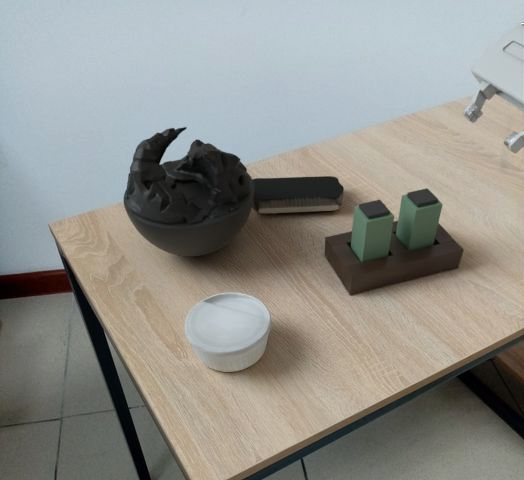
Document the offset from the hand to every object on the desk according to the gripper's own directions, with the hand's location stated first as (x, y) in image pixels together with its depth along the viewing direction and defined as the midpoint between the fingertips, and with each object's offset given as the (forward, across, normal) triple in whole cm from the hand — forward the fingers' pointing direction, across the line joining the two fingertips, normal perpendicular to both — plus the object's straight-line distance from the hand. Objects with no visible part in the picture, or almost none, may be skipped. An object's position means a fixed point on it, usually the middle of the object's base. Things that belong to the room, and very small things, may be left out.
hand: (487, 132), depth 71 cm
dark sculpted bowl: (+40, -16, -14) cm, 46 cm away
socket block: (+21, 0, +5) cm, 22 cm away
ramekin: (+41, +8, -15) cm, 45 cm away
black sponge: (+27, -21, 0) cm, 34 cm away
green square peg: (+24, -1, +2) cm, 24 cm away
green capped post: (+19, -1, +8) cm, 20 cm away
